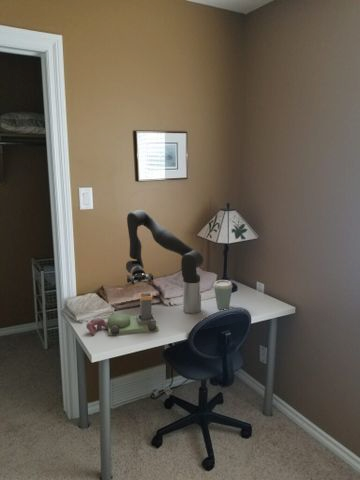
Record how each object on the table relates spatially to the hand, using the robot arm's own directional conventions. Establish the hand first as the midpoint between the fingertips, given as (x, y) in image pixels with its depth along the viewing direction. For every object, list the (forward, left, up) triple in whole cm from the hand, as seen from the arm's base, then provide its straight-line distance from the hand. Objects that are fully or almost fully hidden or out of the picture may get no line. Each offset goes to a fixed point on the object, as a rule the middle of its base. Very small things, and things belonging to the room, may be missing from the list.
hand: (141, 281), depth 208 cm
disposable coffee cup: (-45, +1, -18) cm, 49 cm away
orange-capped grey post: (0, +14, -16) cm, 22 cm away
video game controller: (+24, +16, -19) cm, 34 cm away
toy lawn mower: (+7, +14, -18) cm, 24 cm away
